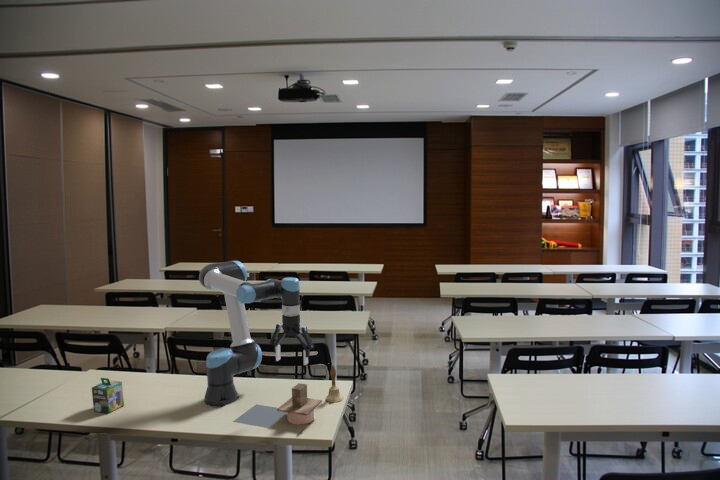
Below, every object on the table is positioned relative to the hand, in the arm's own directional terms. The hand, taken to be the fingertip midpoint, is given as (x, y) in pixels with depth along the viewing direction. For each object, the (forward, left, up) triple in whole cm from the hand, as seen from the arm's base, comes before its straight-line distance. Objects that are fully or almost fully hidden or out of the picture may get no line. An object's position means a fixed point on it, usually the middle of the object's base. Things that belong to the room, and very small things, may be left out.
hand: (291, 362), depth 214 cm
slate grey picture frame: (-12, -6, -24) cm, 27 cm away
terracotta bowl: (+5, -3, -24) cm, 24 cm away
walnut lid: (+5, -4, -18) cm, 19 cm away
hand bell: (+10, +21, -24) cm, 33 cm away
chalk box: (-84, -21, -24) cm, 90 cm away
